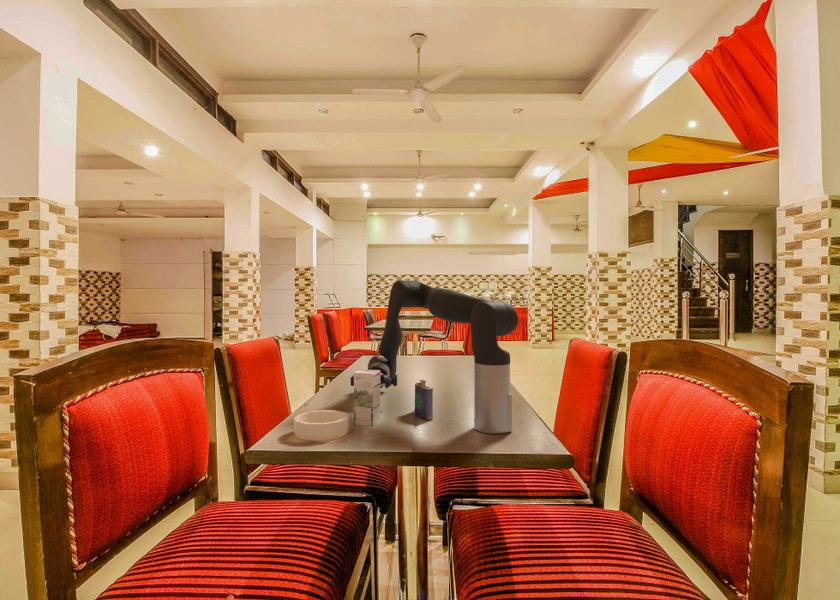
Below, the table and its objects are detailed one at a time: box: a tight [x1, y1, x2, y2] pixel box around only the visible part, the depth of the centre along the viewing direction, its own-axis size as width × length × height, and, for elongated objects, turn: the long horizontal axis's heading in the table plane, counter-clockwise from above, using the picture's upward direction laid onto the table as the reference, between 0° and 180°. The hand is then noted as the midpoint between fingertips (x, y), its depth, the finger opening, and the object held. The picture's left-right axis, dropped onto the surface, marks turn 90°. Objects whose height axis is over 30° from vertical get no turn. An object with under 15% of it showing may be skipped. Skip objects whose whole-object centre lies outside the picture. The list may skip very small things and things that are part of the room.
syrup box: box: [353, 369, 381, 427], centre depth 120 cm, size 6×6×14 cm
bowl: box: [293, 409, 350, 441], centre depth 110 cm, size 13×13×4 cm
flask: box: [413, 378, 434, 421], centre depth 128 cm, size 9×3×11 cm, turn 25°
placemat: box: [284, 424, 355, 443], centre depth 110 cm, size 14×14×1 cm
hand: (372, 384), depth 131 cm, fingers open, 8 cm apart
